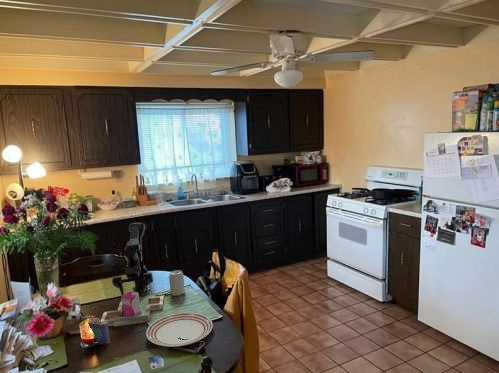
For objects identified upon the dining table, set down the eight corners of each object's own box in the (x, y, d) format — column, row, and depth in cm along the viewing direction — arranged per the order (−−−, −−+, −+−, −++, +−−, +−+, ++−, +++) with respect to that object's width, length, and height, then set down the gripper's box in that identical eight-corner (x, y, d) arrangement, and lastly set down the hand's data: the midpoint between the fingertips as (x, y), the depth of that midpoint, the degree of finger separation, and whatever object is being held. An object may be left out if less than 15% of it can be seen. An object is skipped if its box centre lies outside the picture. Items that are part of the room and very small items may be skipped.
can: (186, 290, 201) (184, 269, 200) (182, 296, 194) (180, 274, 192) (173, 290, 202) (171, 269, 201) (168, 296, 195) (166, 274, 193)
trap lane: (108, 307, 187) (108, 301, 187) (163, 299, 192) (163, 294, 191) (100, 328, 166) (99, 322, 166) (162, 319, 171) (161, 313, 170)
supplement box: (132, 313, 178) (129, 291, 176) (141, 315, 175) (139, 292, 174) (123, 319, 173) (120, 296, 171) (133, 321, 170) (130, 297, 168)
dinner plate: (209, 314, 174) (208, 307, 173) (216, 346, 147) (216, 338, 146) (148, 324, 168) (147, 317, 167) (145, 358, 141) (144, 350, 141)
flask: (111, 341, 155) (108, 317, 153) (107, 345, 152) (103, 320, 150) (92, 339, 157) (89, 315, 156) (88, 343, 154) (84, 319, 153)
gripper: (110, 261, 180) (109, 292, 171) (150, 257, 184) (150, 287, 175) (115, 271, 189) (113, 301, 180) (152, 266, 193) (153, 296, 183)
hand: (132, 296), depth 179 cm, fingers open, 9 cm apart
